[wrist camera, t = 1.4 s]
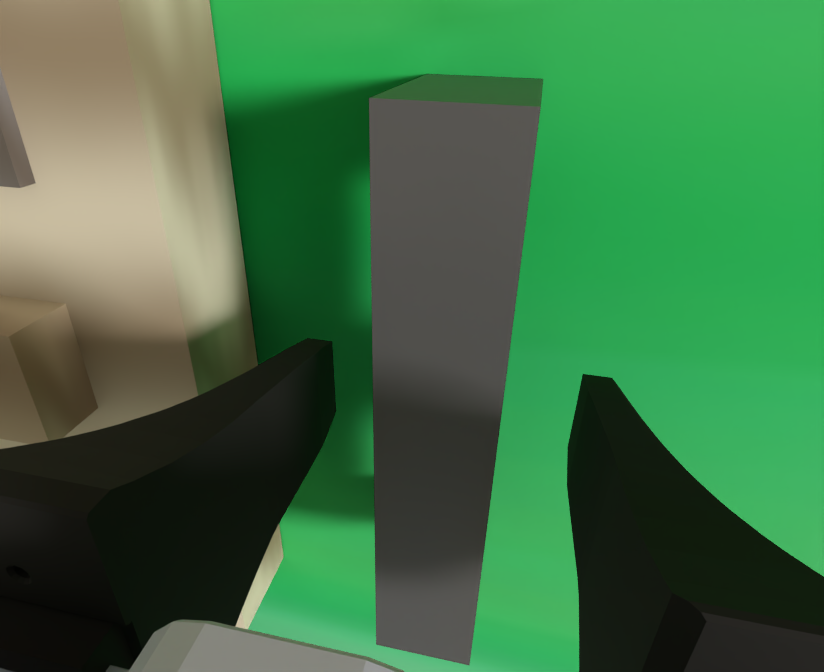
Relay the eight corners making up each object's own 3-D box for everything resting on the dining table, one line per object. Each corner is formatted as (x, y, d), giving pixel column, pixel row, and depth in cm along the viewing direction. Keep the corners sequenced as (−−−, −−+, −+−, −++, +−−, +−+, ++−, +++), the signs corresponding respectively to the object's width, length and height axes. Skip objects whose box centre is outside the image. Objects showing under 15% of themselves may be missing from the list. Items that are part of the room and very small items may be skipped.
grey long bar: (486, 526, 18) (469, 665, 14) (412, 513, 18) (376, 644, 14) (542, 79, 11) (540, 106, 8) (427, 74, 12) (369, 98, 8)
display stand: (283, 557, 21) (221, 682, 17) (49, 509, 22) (-57, 612, 18) (190, -139, 11) (-13, -232, 7) (-214, -128, 13) (-563, -198, 9)
